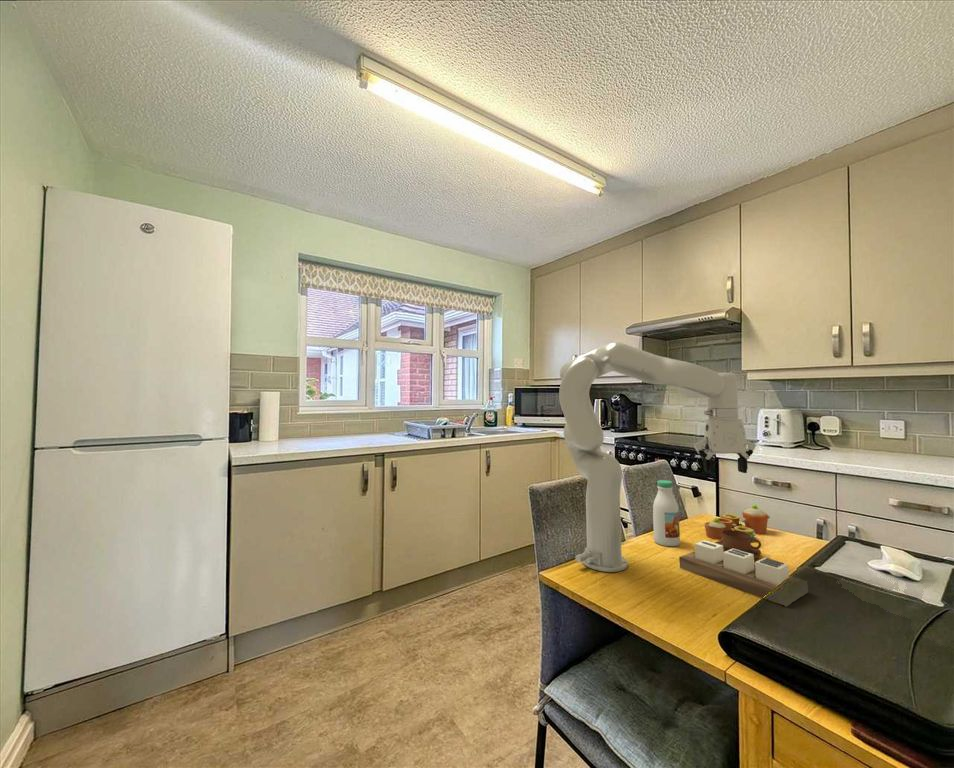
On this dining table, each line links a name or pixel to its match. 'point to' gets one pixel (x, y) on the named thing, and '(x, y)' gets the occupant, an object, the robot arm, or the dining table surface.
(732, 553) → the tile two
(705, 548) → the tile one
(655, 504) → the milk bottle
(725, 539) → the cup and saucer
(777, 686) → the dining table surface
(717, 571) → the board
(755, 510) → the toy tea set
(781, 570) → the tile three
